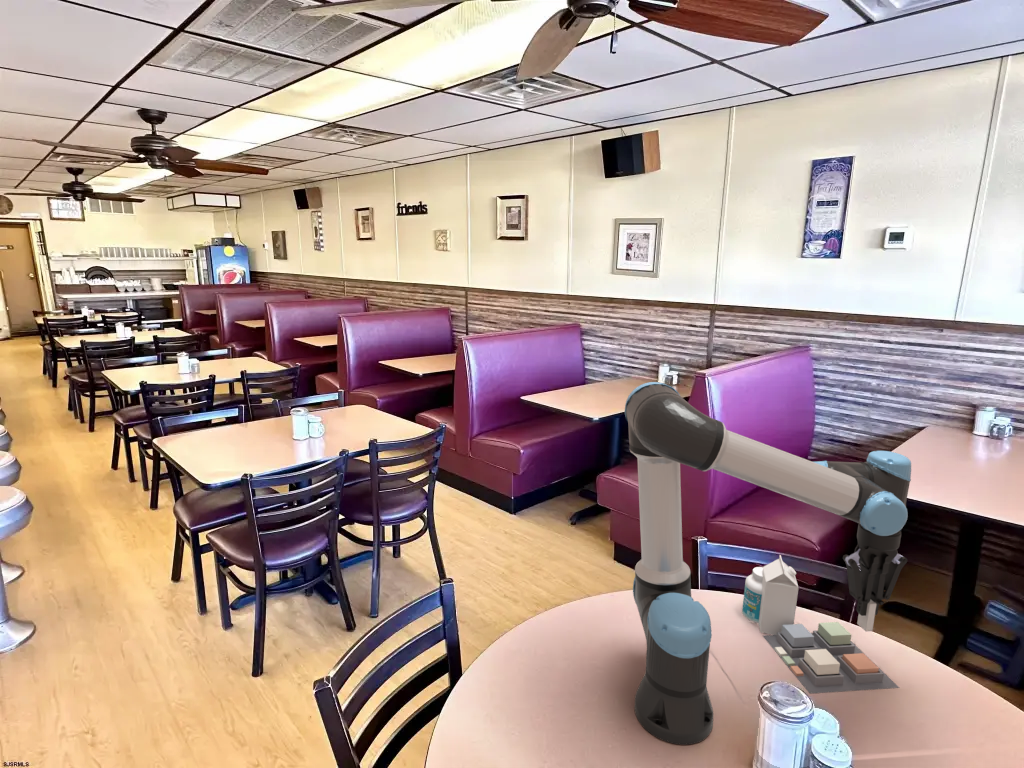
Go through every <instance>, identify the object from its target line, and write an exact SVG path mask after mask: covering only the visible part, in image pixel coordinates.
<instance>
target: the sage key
mask: <svg viewBox="0 0 1024 768" xmlns="http://www.w3.org/2000/svg"><path fill="white" fill-rule="evenodd" d="M817 625H818V626H817V630H818V633H819V634H820V635H821V636H822V637H823V638H824V639H825V640H826V641H827V642H828V643H829V644H830V645H841V644H850V642H851V641H852V634H851V633H850V632H849V631H848V630H847V629H846V628H845V627H844V626H843V625H842V624H841V623H840V622H839V621H833V622H832V621H830V622H829V621H828V622H818V624H817Z"/></svg>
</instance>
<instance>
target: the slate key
mask: <svg viewBox="0 0 1024 768" xmlns="http://www.w3.org/2000/svg"><path fill="white" fill-rule="evenodd" d="M811 633H812V632H810V631H809V629H807V628H806V626H805V625H804V624H802V623H796V624H795V623H794V624H789V625H782V635H783V636H784V637H785V639H786V640H787V641H788V642H789V643H790V644H791V645H792V647H806V646H813V643H814V636H813V635H812V634H811Z"/></svg>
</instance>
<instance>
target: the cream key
mask: <svg viewBox="0 0 1024 768" xmlns="http://www.w3.org/2000/svg"><path fill="white" fill-rule="evenodd" d="M804 660H805V661H806V663H807V664H808V665H809V666H810V667H811V668H812V670H813V671H814V672H815V673H816V674H817V675H825V674H839V667H840V663H839V662H838V661H837V660H836V659H835V658H834V657H833V656H832V655H831V654H830V653H829V652H828V651H827V650H826V649H815V650H805V655H804Z"/></svg>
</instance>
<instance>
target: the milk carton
mask: <svg viewBox="0 0 1024 768" xmlns="http://www.w3.org/2000/svg"><path fill="white" fill-rule="evenodd" d="M762 567H763V571H762V574H763V581H762V598H761V606H760V615H759V623H757V624H758V629H759V633H761V634H765V635H777V633H779V632H782V625H789V624H795V617H796V609H797V604H798V603H797V601H798V596H799V595H798V594H799V585H798V581H797V578H796V575H797V571H795V569H794V568H793V567H792V566H789V565H788V564H787V563H785V562H784V561H783V559H782V555H781V554H779V557H778V558H777V559H775V560H774V561H771V562H769V563H768V564H765V565H763V566H762Z"/></svg>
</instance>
